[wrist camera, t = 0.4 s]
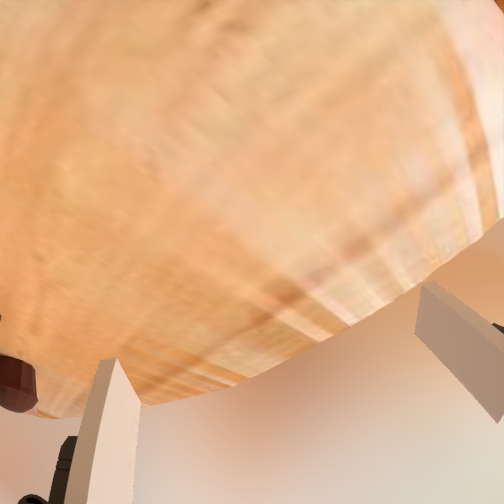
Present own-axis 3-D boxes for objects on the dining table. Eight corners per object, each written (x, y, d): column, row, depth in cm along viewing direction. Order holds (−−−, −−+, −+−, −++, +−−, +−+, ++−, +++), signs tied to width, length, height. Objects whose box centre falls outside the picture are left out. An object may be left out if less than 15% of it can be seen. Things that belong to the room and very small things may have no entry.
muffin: (49, 375, 52) (47, 419, 46) (11, 372, 50) (8, 413, 44) (21, 353, 43) (15, 405, 36) (-18, 350, 41) (-24, 397, 35)
